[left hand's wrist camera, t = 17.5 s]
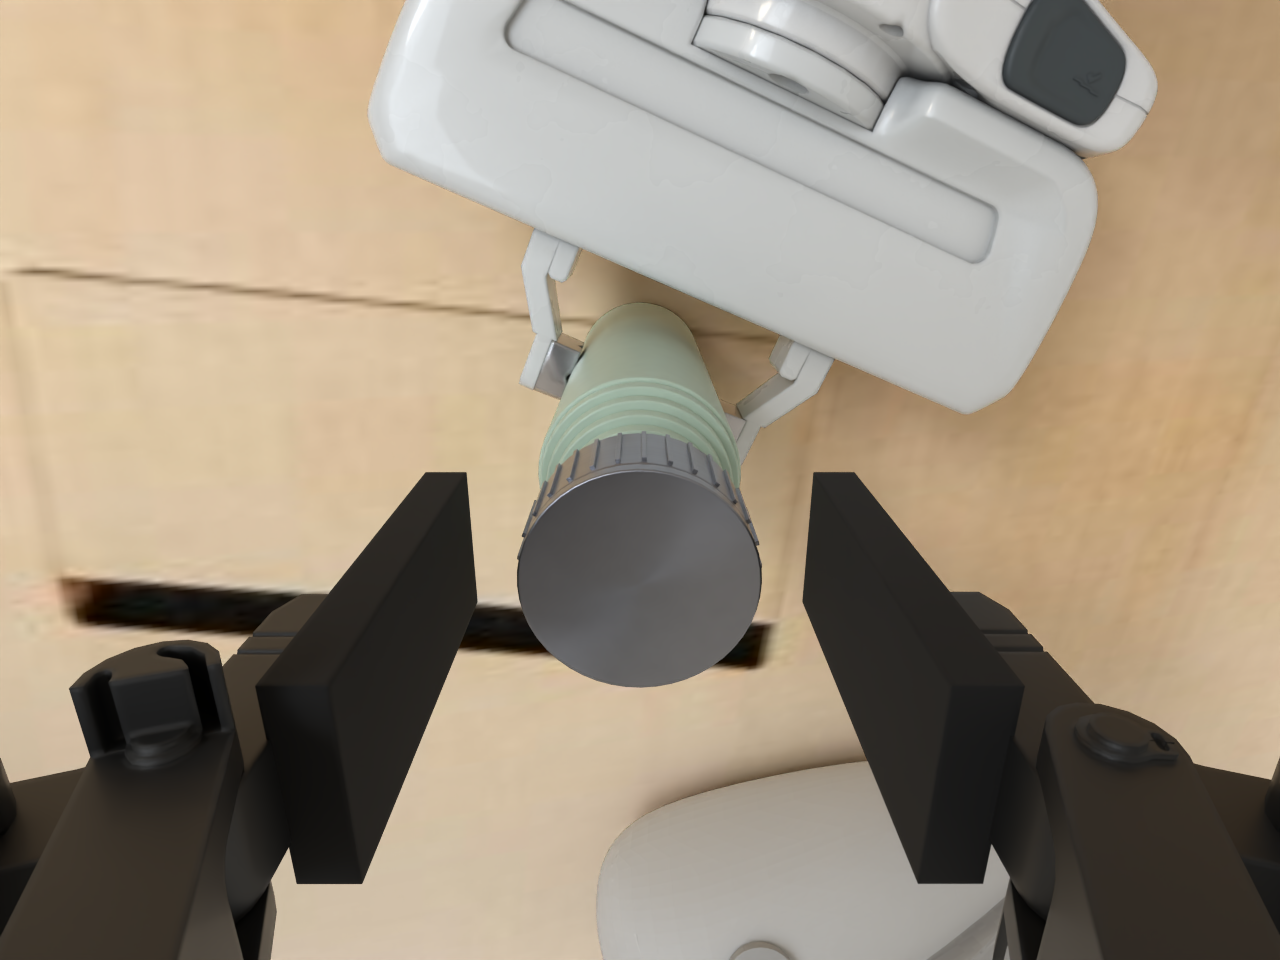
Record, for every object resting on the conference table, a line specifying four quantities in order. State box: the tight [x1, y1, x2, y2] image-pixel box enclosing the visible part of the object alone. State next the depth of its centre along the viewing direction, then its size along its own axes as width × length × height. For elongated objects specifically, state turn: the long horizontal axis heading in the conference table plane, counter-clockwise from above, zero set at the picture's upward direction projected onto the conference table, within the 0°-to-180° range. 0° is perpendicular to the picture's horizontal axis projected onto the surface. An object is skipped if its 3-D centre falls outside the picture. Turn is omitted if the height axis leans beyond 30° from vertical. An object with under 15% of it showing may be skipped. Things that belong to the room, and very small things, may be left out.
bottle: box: [539, 303, 741, 490], centre depth 22 cm, size 5×5×18 cm
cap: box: [517, 431, 762, 687], centre depth 13 cm, size 4×4×2 cm
